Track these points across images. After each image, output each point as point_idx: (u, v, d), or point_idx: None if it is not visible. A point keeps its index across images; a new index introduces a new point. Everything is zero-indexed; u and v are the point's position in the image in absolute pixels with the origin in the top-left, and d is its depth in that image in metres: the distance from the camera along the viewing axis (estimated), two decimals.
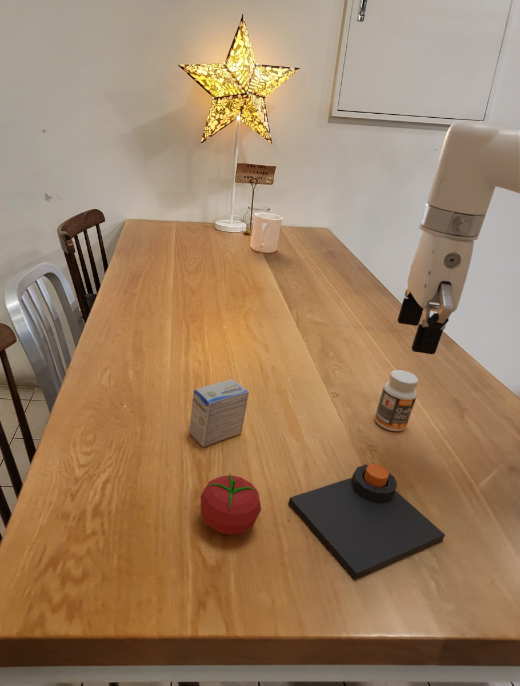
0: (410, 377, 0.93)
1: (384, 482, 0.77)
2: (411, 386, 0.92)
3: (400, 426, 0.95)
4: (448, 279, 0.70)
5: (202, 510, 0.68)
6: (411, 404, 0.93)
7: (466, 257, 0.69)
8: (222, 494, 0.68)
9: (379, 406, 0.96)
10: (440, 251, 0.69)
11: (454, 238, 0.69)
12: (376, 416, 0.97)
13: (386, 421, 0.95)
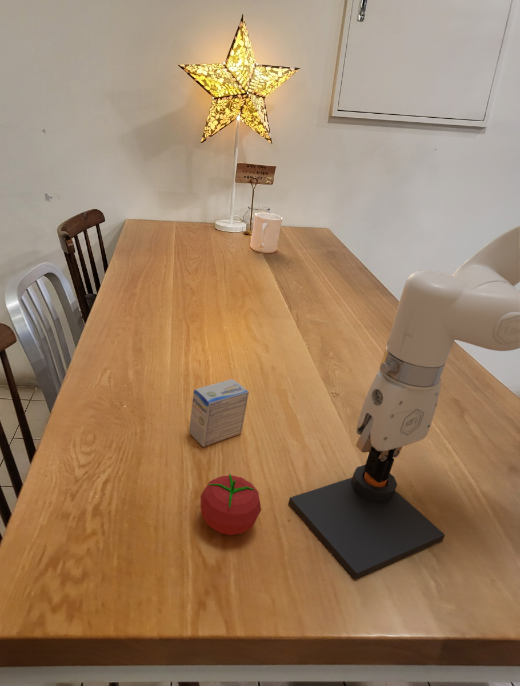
0: None
1: (382, 486, 0.78)
2: None
3: None
4: (371, 413, 0.70)
5: (202, 510, 0.68)
6: None
7: (388, 399, 0.68)
8: (222, 494, 0.68)
9: None
10: (372, 384, 0.71)
11: (386, 377, 0.69)
12: None
13: None
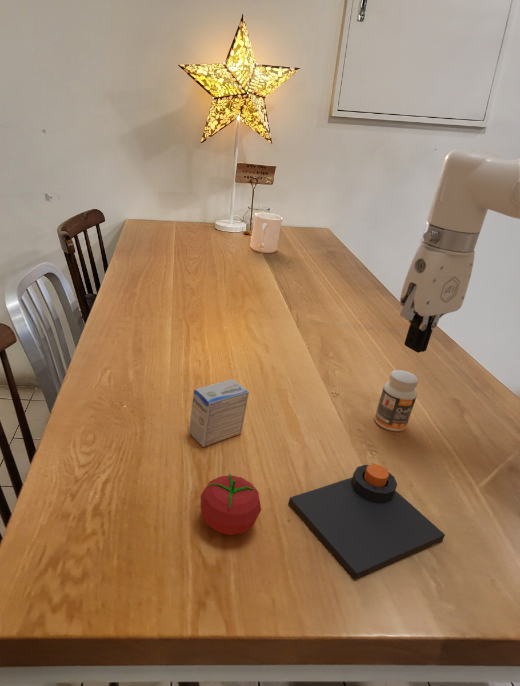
0: (410, 377, 0.93)
1: (384, 482, 0.77)
2: (411, 386, 0.92)
3: (400, 426, 0.95)
4: (415, 282, 0.80)
5: (202, 510, 0.68)
6: (411, 404, 0.93)
7: (430, 265, 0.78)
8: (222, 494, 0.68)
9: (379, 406, 0.96)
10: (414, 256, 0.80)
11: (428, 247, 0.79)
12: (376, 416, 0.97)
13: (386, 421, 0.95)
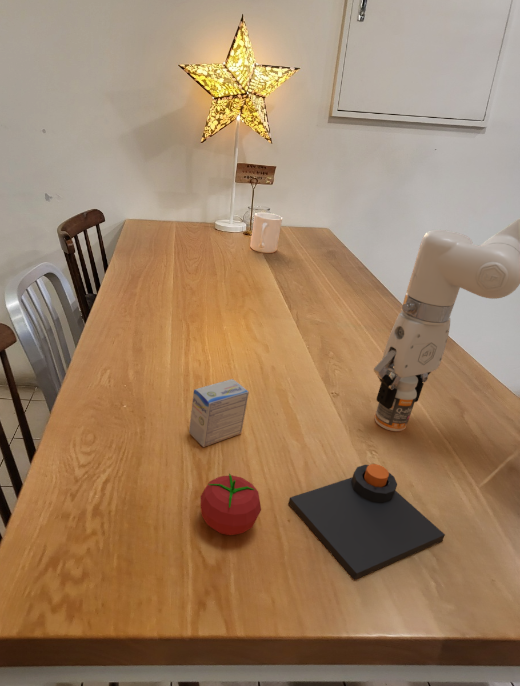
0: (410, 377, 0.93)
1: (384, 482, 0.77)
2: (411, 386, 0.92)
3: (400, 426, 0.95)
4: (395, 346, 0.88)
5: (202, 510, 0.68)
6: (411, 404, 0.93)
7: (408, 333, 0.86)
8: (222, 494, 0.68)
9: (379, 406, 0.96)
10: (395, 323, 0.88)
11: (407, 316, 0.86)
12: (376, 416, 0.97)
13: (386, 421, 0.95)
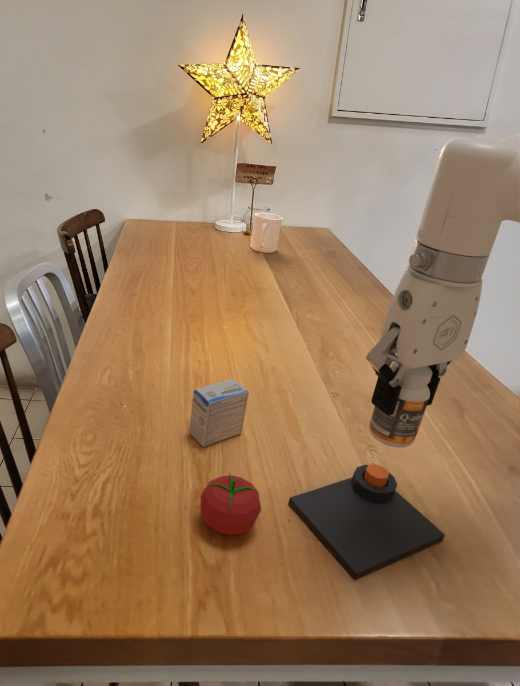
0: (420, 368, 0.64)
1: (384, 482, 0.77)
2: (421, 382, 0.62)
3: (406, 440, 0.65)
4: (398, 321, 0.58)
5: (202, 510, 0.68)
6: (422, 408, 0.63)
7: (419, 300, 0.56)
8: (222, 494, 0.68)
9: (375, 411, 0.66)
10: (398, 285, 0.58)
11: (416, 275, 0.57)
12: (371, 425, 0.67)
13: (385, 433, 0.65)
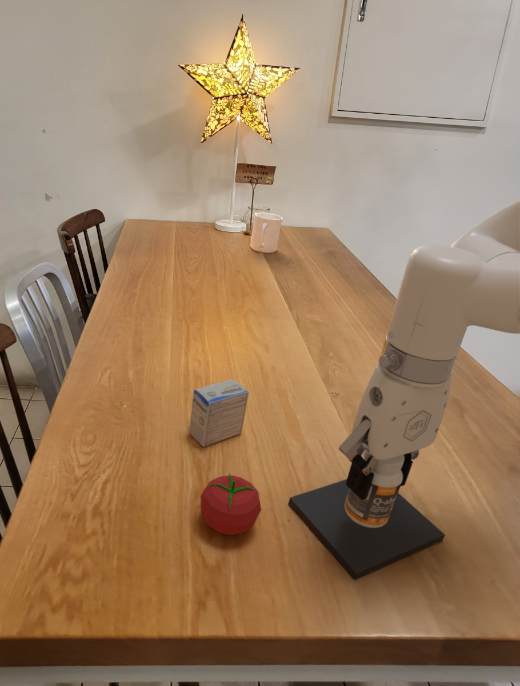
0: None
1: None
2: (393, 468, 0.64)
3: (380, 521, 0.67)
4: (369, 416, 0.60)
5: (202, 510, 0.68)
6: (394, 492, 0.65)
7: (388, 399, 0.57)
8: (222, 494, 0.68)
9: (350, 492, 0.68)
10: None
11: (387, 373, 0.58)
12: (346, 504, 0.69)
13: (359, 514, 0.67)
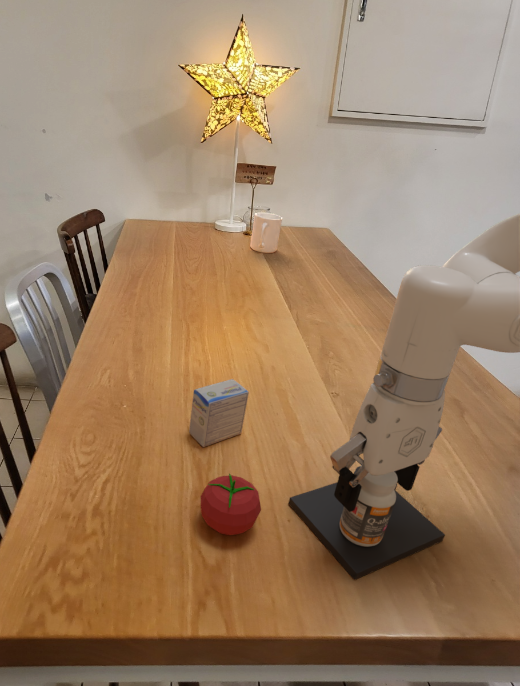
0: (386, 474, 0.67)
1: None
2: (387, 490, 0.65)
3: (374, 540, 0.68)
4: (364, 432, 0.61)
5: (202, 510, 0.68)
6: (388, 512, 0.67)
7: (383, 416, 0.58)
8: (222, 494, 0.68)
9: (345, 511, 0.69)
10: (365, 398, 0.61)
11: (381, 391, 0.59)
12: (341, 523, 0.70)
13: (353, 533, 0.68)
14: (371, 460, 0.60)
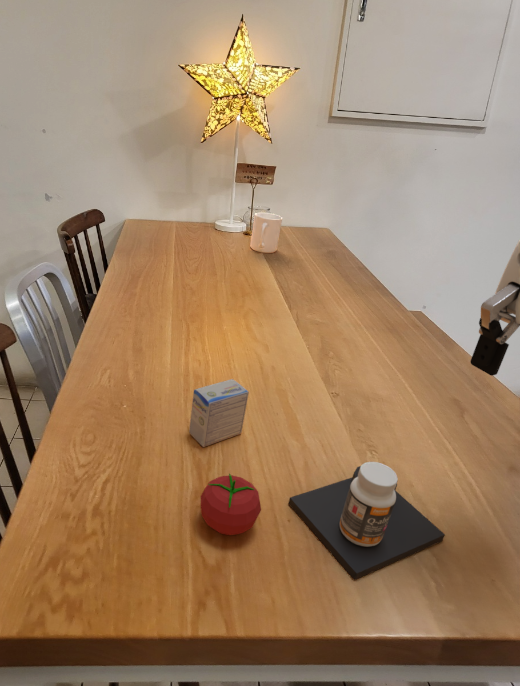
0: (386, 474, 0.67)
1: None
2: (387, 490, 0.65)
3: (374, 540, 0.68)
4: (518, 280, 0.56)
5: (202, 510, 0.68)
6: (388, 512, 0.67)
7: None
8: (222, 494, 0.68)
9: (345, 511, 0.69)
10: (518, 244, 0.56)
11: None
12: (341, 523, 0.70)
13: (353, 533, 0.68)
14: None
